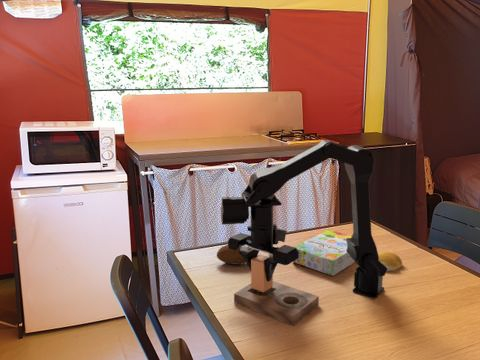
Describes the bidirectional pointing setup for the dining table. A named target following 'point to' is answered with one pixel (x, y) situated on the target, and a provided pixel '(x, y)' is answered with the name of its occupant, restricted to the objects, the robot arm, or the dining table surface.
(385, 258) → the bread roll
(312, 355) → the dining table surface
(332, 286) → the dining table surface
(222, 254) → the potato
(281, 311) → the socket board
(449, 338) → the dining table surface
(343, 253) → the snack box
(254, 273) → the square peg
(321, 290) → the dining table surface
